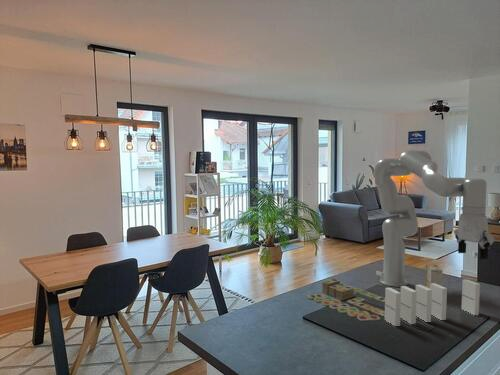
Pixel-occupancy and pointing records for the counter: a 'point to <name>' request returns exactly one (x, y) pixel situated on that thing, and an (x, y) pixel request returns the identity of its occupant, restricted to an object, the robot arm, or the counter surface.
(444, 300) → the domino
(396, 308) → the domino
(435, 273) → the supplement box
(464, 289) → the domino
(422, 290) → the domino
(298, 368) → the counter surface
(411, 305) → the domino
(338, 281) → the pile of dominoes
